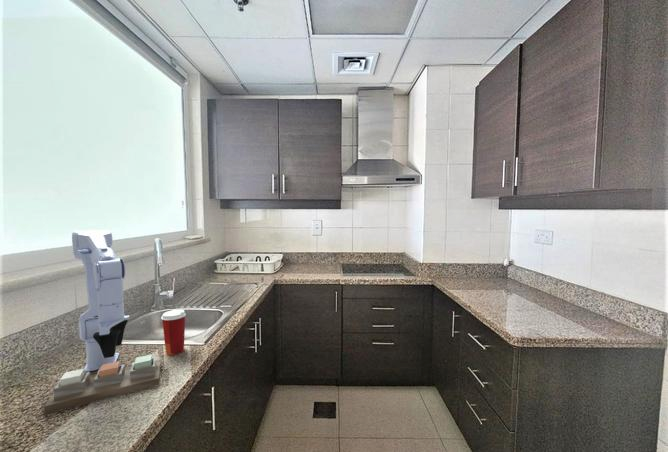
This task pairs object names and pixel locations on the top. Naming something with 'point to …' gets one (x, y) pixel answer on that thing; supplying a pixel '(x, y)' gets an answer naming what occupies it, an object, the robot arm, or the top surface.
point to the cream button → (72, 377)
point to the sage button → (143, 362)
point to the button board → (103, 386)
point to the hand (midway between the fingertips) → (113, 350)
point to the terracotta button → (109, 369)
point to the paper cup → (174, 331)
